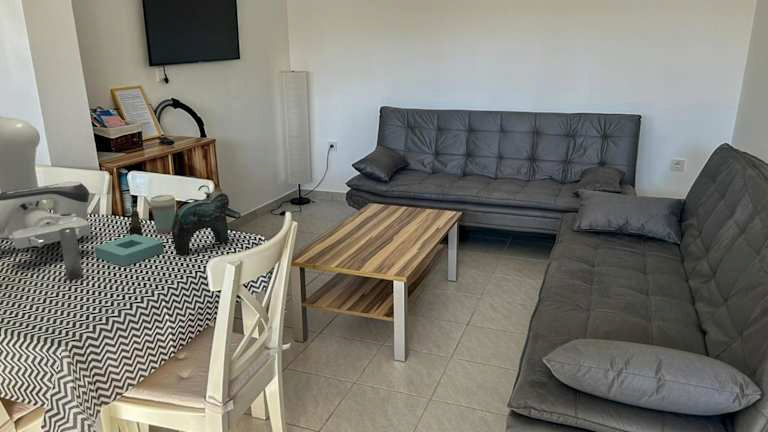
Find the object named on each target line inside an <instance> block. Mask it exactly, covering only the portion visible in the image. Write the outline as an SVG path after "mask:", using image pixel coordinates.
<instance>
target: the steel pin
mask: <svg viewBox="0 0 768 432" xmlns="http://www.w3.org/2000/svg"><path fill="white" fill-rule="evenodd" d="M59 235H60V241H59V242H60V245H61V250H62V251H61V252H62V256H63V263H64V264H63V265H64V269H65V274H66V279H67V280H69V281H71V280H72V281H73V280H74V281H75V280H79V279H81V278H83V276H84V274H83V269H82V268H83V267H82V262H81V256H80V250H79V244H78V239H77V236H76V230H75V228H73V227H68V228H63V229H60V230H59Z"/></svg>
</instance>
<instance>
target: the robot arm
mask: <svg viewBox="0 0 768 432" xmlns="http://www.w3.org/2000/svg"><path fill="white" fill-rule="evenodd" d="M40 142H41V135H40V132H39V130H38V129H37V128H36V127H35V126H34V125H33V124H31V122H30V123H29V122H28V121H26V120H23V119H19V118H13V117H7V116H2V115H1V116H0V239H7V238H8V239H9V241H13V244H14V247H15V248H16V249H25V248H29V247H36V246H37V248H40V247H44V246H45V245H49V244H53V243H56V242H61V241H60V235H59V230H60V229H63V228H68V227H73V228H75V230H76V236H77V240H79V239H80V238H81V237H83V236H89V235H90V234H91V232H92V231H91V230H92V229H91V226H90V225H91V224H90V223H89V221H88V203H89V197H90V191H89V190H88V188H87V186H85V185H84V184H83V183H82V182H79V181H71V180H70V181H66V182H60V183H57V184H50V185H43V186H39V183H38V178H37V177H38V176H37V172H36V155H37V148H38V146H39V144H40ZM48 200H52V201H53V212H50V210H49V209H48V205H47V203H46V202H44V201H48Z"/></svg>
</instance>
